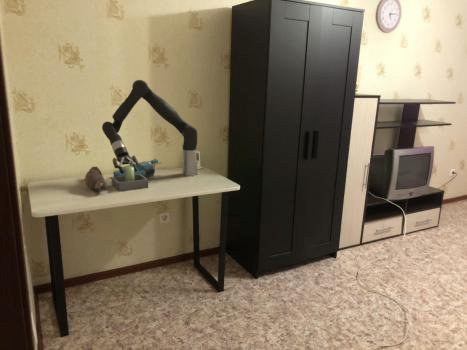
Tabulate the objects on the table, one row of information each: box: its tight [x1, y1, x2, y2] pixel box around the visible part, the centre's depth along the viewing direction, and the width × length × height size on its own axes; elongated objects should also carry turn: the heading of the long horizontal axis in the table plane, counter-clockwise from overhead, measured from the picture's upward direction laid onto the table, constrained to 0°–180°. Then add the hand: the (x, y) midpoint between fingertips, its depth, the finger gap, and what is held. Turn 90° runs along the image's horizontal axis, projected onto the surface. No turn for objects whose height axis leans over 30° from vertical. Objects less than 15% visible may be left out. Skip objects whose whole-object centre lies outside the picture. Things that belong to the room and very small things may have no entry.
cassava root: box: [84, 166, 107, 191], centre depth 220 cm, size 41×11×10 cm
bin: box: [111, 174, 149, 192], centre depth 222 cm, size 17×14×5 cm
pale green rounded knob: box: [124, 165, 134, 182], centre depth 221 cm, size 5×5×11 cm
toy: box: [113, 158, 162, 178], centre depth 246 cm, size 22×9×30 cm
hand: (129, 171), depth 220 cm, fingers open, 8 cm apart
